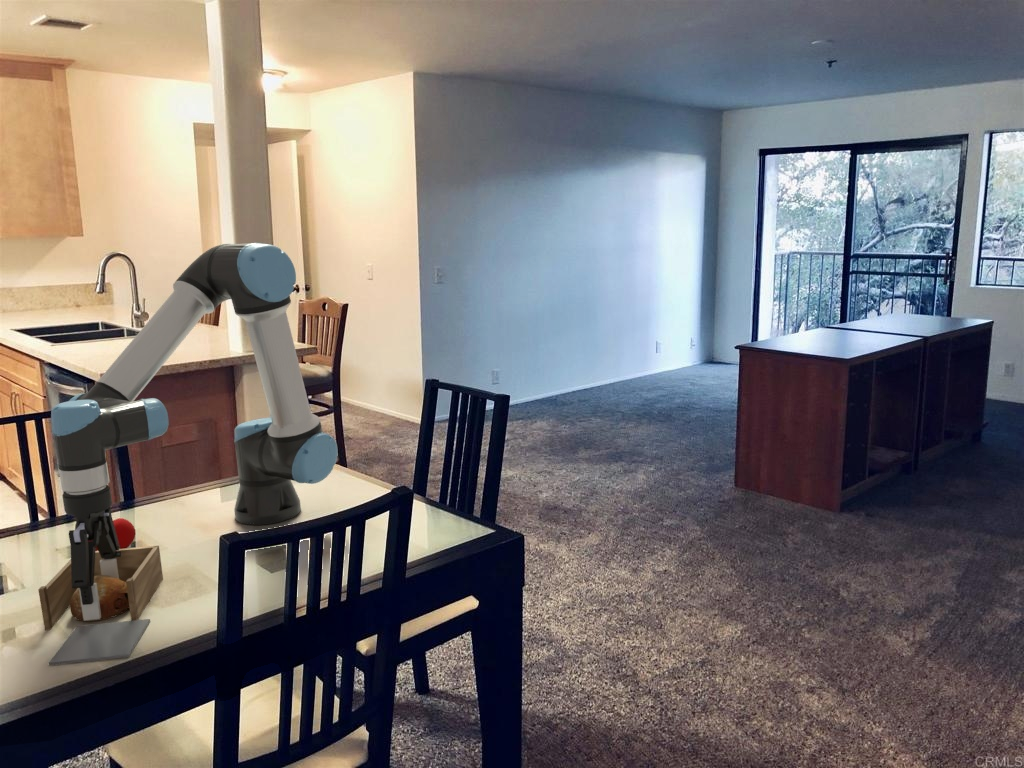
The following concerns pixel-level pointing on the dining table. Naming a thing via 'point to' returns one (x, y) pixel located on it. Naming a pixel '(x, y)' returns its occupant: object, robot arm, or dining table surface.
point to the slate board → (100, 642)
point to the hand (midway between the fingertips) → (102, 605)
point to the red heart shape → (123, 532)
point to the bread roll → (104, 598)
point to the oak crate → (133, 568)
